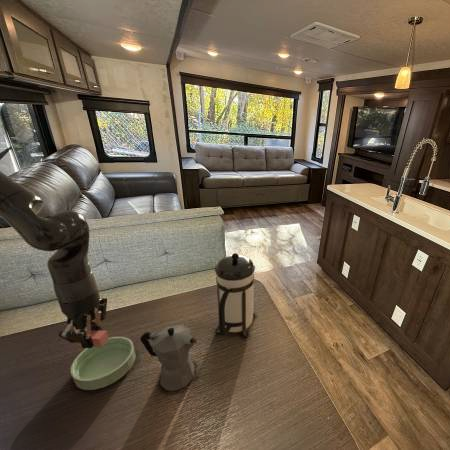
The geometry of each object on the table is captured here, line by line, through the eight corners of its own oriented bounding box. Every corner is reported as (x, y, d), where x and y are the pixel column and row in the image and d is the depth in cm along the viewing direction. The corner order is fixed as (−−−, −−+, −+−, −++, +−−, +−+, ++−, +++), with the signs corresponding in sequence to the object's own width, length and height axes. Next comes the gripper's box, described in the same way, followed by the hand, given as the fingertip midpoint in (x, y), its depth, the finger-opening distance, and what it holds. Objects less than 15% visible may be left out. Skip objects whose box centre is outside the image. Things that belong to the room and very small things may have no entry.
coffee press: (207, 319, 92) (201, 248, 81) (247, 305, 101) (247, 239, 89) (221, 354, 79) (217, 276, 68) (266, 335, 88) (269, 263, 76)
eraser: (77, 346, 66) (75, 337, 65) (85, 337, 68) (83, 329, 67) (101, 347, 66) (99, 339, 65) (108, 338, 69) (106, 330, 68)
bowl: (60, 391, 65) (55, 380, 63) (99, 346, 78) (95, 335, 76) (116, 392, 66) (113, 381, 64) (145, 347, 79) (143, 337, 77)
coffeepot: (207, 364, 76) (203, 319, 69) (192, 395, 67) (186, 347, 60) (158, 358, 76) (149, 312, 69) (137, 388, 67) (125, 339, 60)
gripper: (83, 273, 67) (97, 322, 74) (34, 310, 54) (56, 364, 61) (112, 275, 67) (123, 323, 74) (70, 311, 55) (88, 365, 61)
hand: (93, 341), depth 67 cm, fingers closed on eraser, 2 cm apart
